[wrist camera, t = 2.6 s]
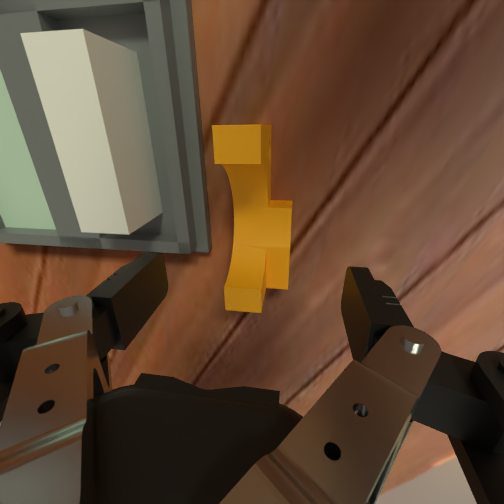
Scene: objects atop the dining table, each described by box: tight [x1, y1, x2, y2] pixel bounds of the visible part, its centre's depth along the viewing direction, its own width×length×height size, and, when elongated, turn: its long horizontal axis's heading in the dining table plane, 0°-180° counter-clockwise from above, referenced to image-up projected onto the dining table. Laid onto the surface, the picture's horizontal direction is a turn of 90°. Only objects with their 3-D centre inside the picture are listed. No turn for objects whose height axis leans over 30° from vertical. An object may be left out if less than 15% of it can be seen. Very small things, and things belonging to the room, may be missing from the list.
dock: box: [0, 0, 212, 254], centre depth 19 cm, size 22×18×6 cm
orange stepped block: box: [212, 124, 293, 313], centre depth 19 cm, size 12×4×6 cm, turn 1°
